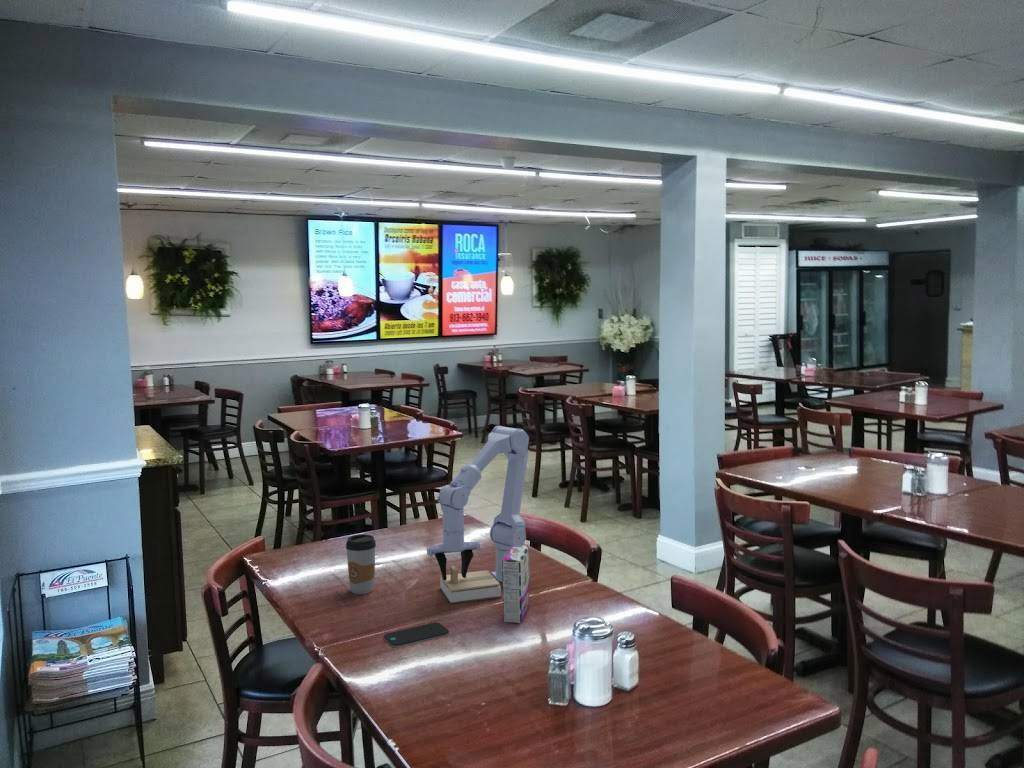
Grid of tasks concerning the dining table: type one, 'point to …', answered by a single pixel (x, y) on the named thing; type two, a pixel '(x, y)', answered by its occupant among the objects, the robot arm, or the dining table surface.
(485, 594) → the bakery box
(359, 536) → the coffee cup
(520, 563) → the candy bar box
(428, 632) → the smartphone
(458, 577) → the beige sliding box lid
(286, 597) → the dining table surface
